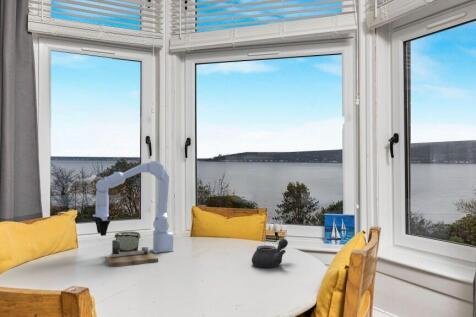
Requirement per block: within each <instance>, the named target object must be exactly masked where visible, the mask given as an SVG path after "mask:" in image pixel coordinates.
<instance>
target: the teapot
mask: <svg viewBox="0 0 476 317" xmlns="http://www.w3.org/2000/svg"><path fill="white" fill-rule="evenodd" d="M288 243H289V242H288V240H287V238H281V239H280V240H279V241H278V244H277V247H276V246H274V245H258V246H256V250H255V251H254V252H253V255H252V257H251V263H252V265H254V266H255V267H260V268H273V267H277V266H280V265H281V263H282V262H283V257H284V256H283V255H284V254H285V253H286V250H285V249H286V248H287V246H288V245H289V244H288Z"/></svg>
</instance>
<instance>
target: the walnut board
mask: <svg viewBox="0 0 476 317" xmlns="http://www.w3.org/2000/svg"><path fill="white" fill-rule="evenodd" d="M105 262H106V263H107V264H108V266H109V268H114V267H123V266H130V265H131V266H133V265H140V264H150V263H158V262H159V257H157V256H156V255H155V254H153V252H149V253H147V254H137V255H128V256H118V257H111V256H105Z"/></svg>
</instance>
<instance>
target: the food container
mask: <svg viewBox="0 0 476 317" xmlns="http://www.w3.org/2000/svg"><path fill="white" fill-rule="evenodd" d="M114 239H115V240H120V252H128V251H138V250H139V242H140V239H141V233H140V232H138V231H118V232H116V233H115V234H114Z"/></svg>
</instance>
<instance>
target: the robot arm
mask: <svg viewBox="0 0 476 317" xmlns="http://www.w3.org/2000/svg"><path fill="white" fill-rule="evenodd" d="M140 173H149V174H150V175H153V176H154V177H155V178H156V179H157V180H158V189H157V202H156V204H157V205H156V214H155V219H154V221H153V222H152V223H153V224H152V225H153V226H152V227H153V228H154V230H153V232H152V236H153V237H152V248H150V251H152V253H165V252H174V233H173V232H172V231H169V222H168V214H167V213H168V200H169V199H168V198H169V187H170V186H169V184H170V175H169V174H168V172H167V171H166V169H165V167H164V165H163V164H162V163H161V162H159V161H157V160H151V161H149V162H145V163H141V164H138V165H136V166H135V167H133V168H130V169H128V170H126V171H124V172H121V171H114V172H113V174H110V175H108V176H104V177H103V179H102V178H101V179H99V180H98V181H97V182H96V184H95V189H96V192H95V214H92V217H94V218H93V221H94V223H95V225H96V231H97V232H96V233H97V234H100V236H101V237H102V236H104V237H105V236H107V233H108V227H109V225H110V223H111V220H110V219H109V220H108V217H109V216H110V214H109V210H110V209H109V202H110V201H109V200H110V199H109V197H110V196H109V189H113V188H115V187H117V186H119V185H122V184H124V183H125V181H126V179H128V178H131V177H133V176H135V175H138V174H140Z"/></svg>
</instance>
